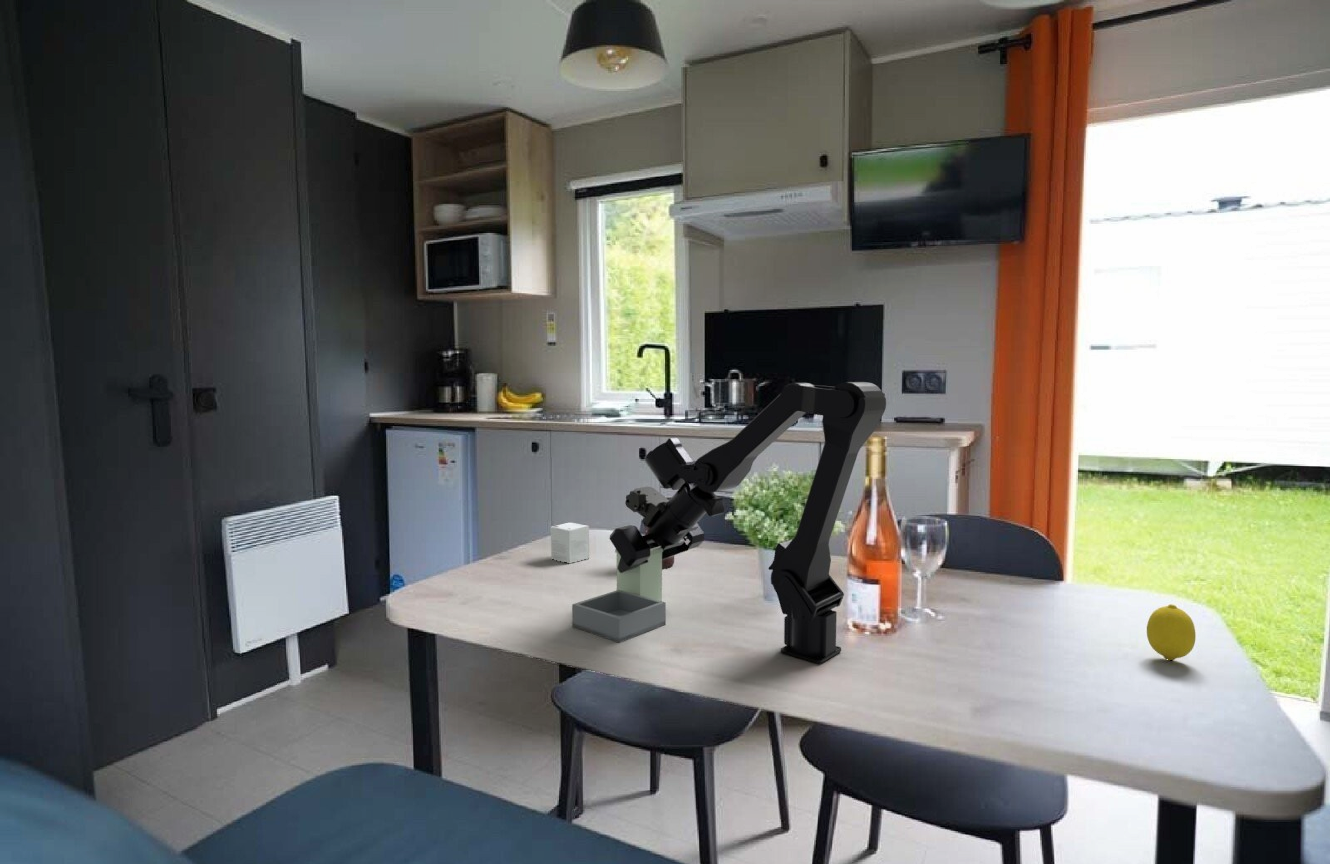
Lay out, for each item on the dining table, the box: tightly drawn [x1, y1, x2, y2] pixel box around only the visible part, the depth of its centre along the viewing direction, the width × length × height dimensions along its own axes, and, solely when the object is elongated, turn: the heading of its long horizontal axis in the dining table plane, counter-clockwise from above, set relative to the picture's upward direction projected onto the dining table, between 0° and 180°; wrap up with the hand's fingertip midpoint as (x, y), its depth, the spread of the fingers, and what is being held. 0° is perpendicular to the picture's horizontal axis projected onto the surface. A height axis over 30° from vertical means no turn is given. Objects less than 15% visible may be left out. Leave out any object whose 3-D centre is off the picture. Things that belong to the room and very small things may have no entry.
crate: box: [571, 589, 667, 644], centre depth 114 cm, size 10×10×4 cm
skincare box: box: [550, 522, 591, 564], centre depth 156 cm, size 6×6×7 cm
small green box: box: [614, 547, 663, 602], centre depth 124 cm, size 6×6×10 cm
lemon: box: [1146, 603, 1196, 661], centre depth 100 cm, size 6×6×8 cm
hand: (633, 566), depth 125 cm, fingers open, 7 cm apart
